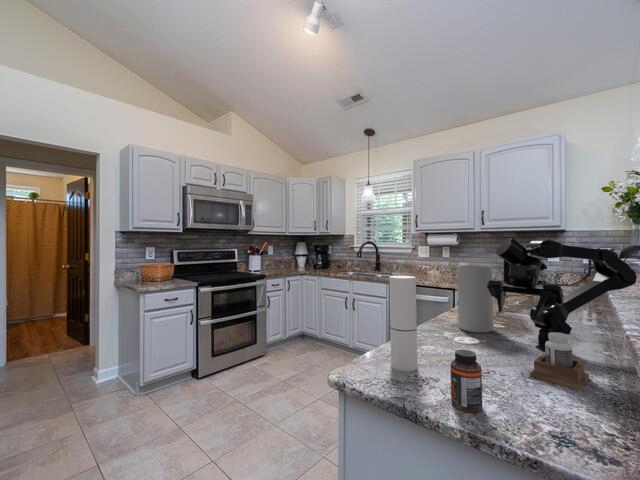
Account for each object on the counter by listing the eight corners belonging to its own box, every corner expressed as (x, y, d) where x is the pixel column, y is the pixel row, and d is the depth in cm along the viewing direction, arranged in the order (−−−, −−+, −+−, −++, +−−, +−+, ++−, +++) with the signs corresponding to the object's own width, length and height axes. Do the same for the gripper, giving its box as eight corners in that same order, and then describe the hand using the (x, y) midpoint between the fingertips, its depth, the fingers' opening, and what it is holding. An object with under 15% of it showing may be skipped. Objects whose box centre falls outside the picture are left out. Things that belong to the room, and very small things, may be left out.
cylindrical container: (417, 363, 87) (416, 275, 88) (417, 373, 81) (415, 278, 81) (392, 360, 90) (390, 275, 90) (389, 369, 83) (388, 277, 83)
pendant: (450, 339, 109) (449, 337, 109) (479, 338, 110) (479, 336, 110) (460, 346, 102) (460, 343, 102) (491, 344, 103) (491, 342, 103)
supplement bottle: (447, 398, 67) (446, 347, 67) (475, 399, 66) (474, 347, 67) (456, 413, 61) (455, 356, 61) (487, 415, 60) (486, 357, 61)
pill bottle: (576, 374, 76) (575, 335, 76) (567, 379, 73) (566, 338, 73) (551, 366, 81) (550, 330, 81) (541, 371, 78) (540, 333, 78)
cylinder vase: (451, 327, 124) (450, 266, 125) (472, 323, 130) (471, 264, 130) (478, 335, 113) (477, 268, 113) (500, 331, 118) (499, 266, 119)
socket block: (541, 366, 84) (540, 351, 84) (589, 377, 76) (588, 361, 76) (530, 376, 77) (529, 361, 77) (581, 390, 70) (580, 373, 70)
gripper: (488, 255, 99) (474, 292, 91) (560, 256, 85) (551, 300, 77) (497, 277, 104) (485, 315, 96) (567, 281, 90) (559, 326, 82)
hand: (517, 313), depth 88 cm, fingers open, 9 cm apart
